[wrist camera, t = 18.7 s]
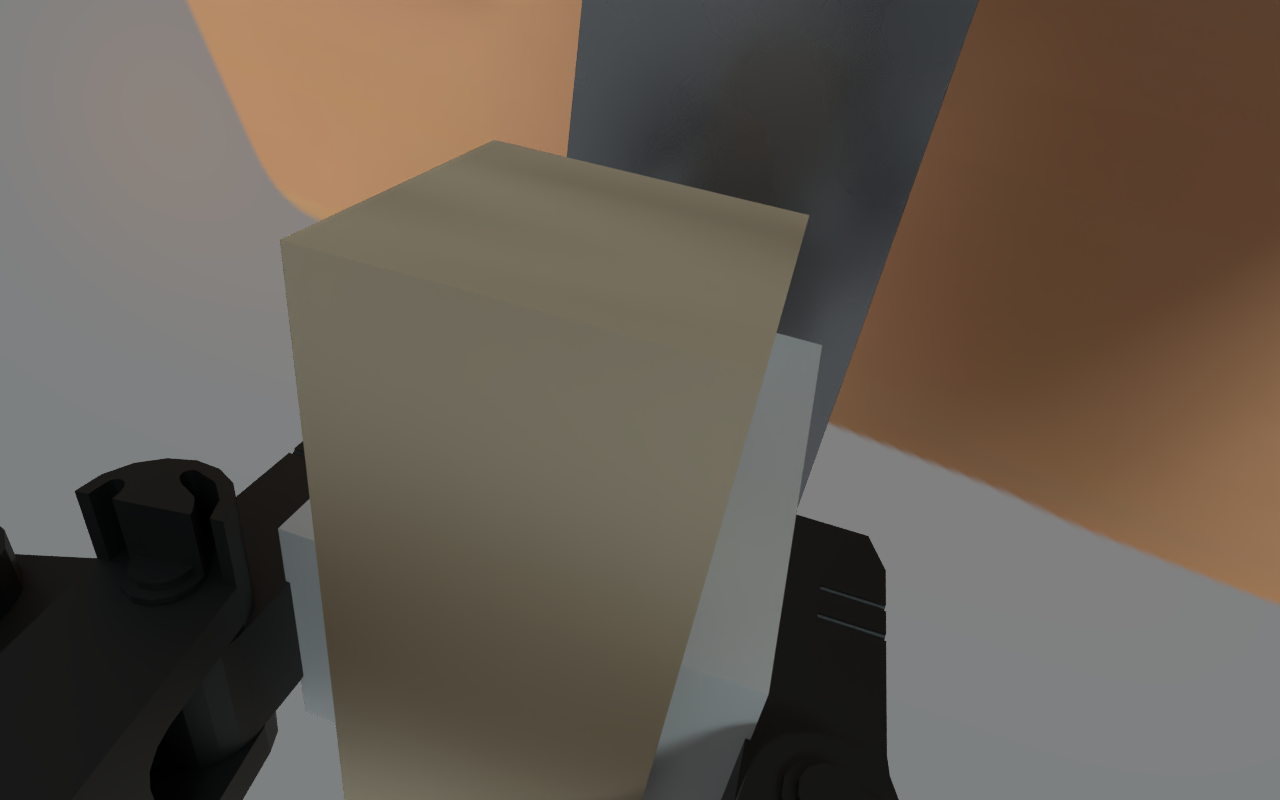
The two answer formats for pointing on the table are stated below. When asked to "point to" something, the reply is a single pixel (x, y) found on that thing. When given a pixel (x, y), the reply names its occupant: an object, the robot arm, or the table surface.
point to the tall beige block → (586, 378)
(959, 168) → the table surface
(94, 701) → the robot arm
